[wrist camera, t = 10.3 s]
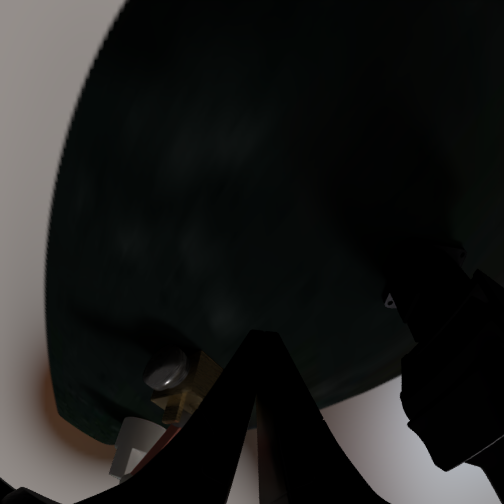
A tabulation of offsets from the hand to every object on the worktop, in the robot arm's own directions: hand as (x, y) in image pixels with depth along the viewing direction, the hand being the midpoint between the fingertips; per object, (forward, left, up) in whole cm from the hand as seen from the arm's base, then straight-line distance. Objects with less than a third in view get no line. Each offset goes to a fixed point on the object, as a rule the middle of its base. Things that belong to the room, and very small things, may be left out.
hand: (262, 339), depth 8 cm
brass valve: (+5, +20, -12) cm, 24 cm away
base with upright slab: (+16, +43, -12) cm, 47 cm away
